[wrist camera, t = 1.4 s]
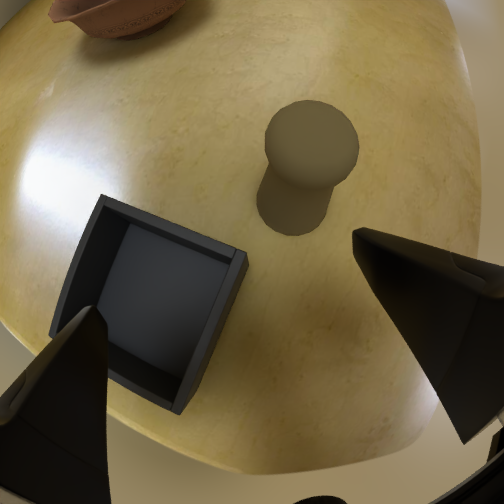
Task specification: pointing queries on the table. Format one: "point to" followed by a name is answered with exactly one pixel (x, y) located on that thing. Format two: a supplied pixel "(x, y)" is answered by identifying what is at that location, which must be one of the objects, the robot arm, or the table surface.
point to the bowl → (115, 16)
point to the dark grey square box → (152, 298)
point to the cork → (304, 165)
